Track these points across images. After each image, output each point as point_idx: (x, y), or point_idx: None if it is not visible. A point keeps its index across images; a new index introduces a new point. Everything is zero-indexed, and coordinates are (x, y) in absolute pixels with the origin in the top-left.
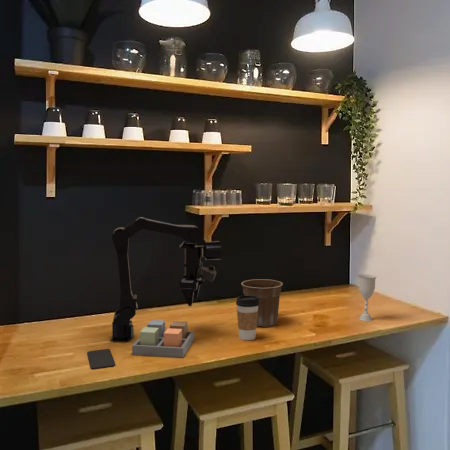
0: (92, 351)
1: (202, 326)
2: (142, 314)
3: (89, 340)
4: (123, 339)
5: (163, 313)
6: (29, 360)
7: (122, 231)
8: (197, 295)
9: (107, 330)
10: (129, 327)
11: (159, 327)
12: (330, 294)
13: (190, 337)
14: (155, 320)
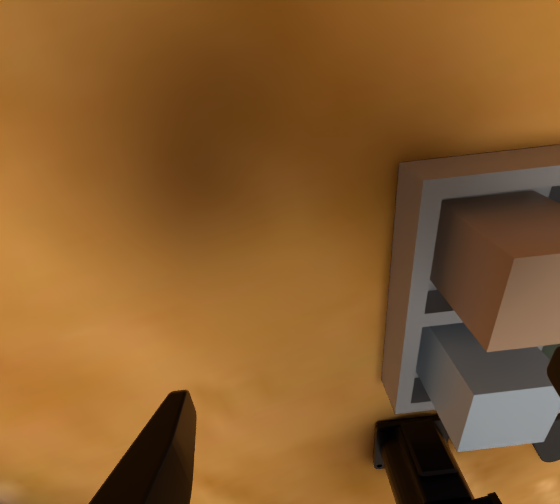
0: (550, 454)
1: (117, 191)
2: (90, 490)
3: None
4: (442, 433)
5: (17, 442)
6: None
7: None
8: (165, 443)
9: (325, 497)
10: (456, 472)
11: None
12: None
13: (555, 164)
14: (466, 435)
